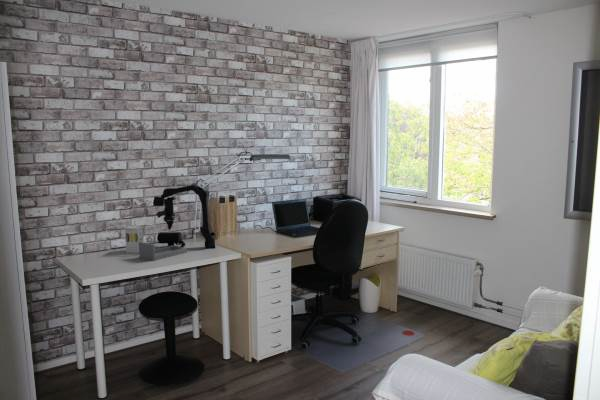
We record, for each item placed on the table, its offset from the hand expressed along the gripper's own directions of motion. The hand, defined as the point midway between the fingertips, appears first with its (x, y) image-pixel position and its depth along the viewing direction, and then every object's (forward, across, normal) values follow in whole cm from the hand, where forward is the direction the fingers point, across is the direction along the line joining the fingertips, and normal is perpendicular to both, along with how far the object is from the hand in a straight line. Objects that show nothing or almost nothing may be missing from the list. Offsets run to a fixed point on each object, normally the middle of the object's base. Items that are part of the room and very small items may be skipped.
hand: (170, 228), depth 341 cm
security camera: (+13, 0, 0) cm, 13 cm away
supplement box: (+13, +7, -23) cm, 27 cm away
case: (+13, +22, -2) cm, 26 cm away
